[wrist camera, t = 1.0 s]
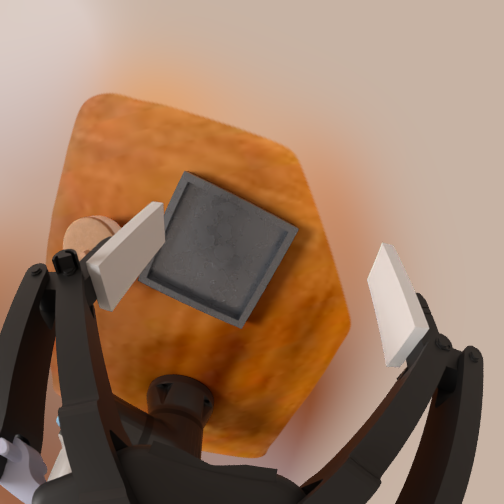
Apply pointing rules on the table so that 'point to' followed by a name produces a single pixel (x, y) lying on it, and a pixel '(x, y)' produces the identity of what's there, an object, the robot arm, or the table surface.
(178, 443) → the robot arm
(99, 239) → the lidded jar
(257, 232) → the tray
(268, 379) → the table surface
